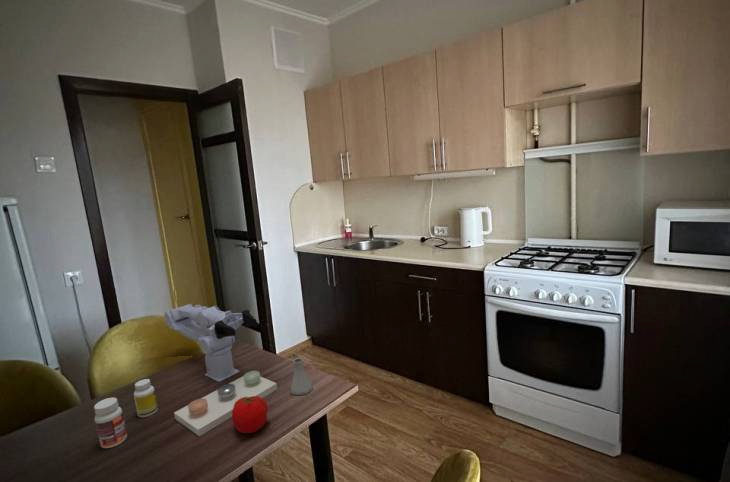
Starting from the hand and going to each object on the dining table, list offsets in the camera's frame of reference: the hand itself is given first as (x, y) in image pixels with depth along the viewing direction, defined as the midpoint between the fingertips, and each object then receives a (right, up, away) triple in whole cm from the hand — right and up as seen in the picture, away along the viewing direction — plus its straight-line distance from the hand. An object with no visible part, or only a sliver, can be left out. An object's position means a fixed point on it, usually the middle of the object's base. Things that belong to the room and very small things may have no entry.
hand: (245, 327), depth 117 cm
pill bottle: (-31, -27, -15) cm, 44 cm away
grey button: (-5, -19, -2) cm, 20 cm away
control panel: (-4, -23, -2) cm, 23 cm away
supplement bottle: (-28, -25, -3) cm, 38 cm away
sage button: (+1, -18, +4) cm, 18 cm away
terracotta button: (-10, -21, -9) cm, 25 cm away
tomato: (+6, -24, -14) cm, 29 cm away
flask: (+17, -20, +2) cm, 27 cm away
